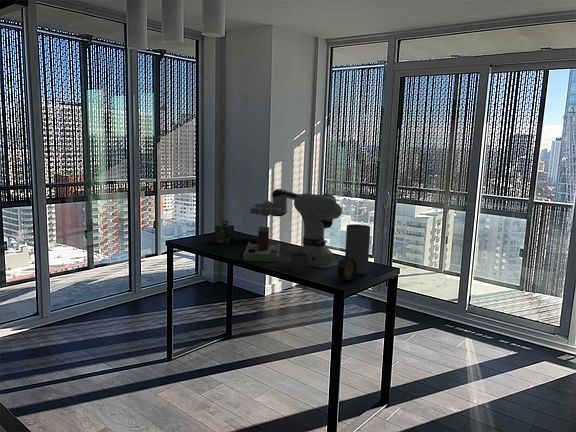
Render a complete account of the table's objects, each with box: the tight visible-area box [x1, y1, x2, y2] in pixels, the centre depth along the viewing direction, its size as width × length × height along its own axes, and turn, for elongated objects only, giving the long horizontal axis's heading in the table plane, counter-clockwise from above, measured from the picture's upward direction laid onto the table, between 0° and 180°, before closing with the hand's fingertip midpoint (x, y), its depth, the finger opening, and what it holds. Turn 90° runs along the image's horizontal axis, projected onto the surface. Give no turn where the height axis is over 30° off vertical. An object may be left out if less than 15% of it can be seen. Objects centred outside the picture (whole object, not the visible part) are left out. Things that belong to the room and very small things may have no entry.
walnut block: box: [257, 226, 270, 251], centre depth 302 cm, size 14×6×12 cm, turn 0°
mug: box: [290, 252, 312, 275], centre depth 256 cm, size 12×9×10 cm
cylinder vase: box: [344, 223, 371, 275], centre depth 261 cm, size 12×12×25 cm
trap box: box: [242, 241, 281, 263], centre depth 294 cm, size 36×20×4 cm, turn 0°
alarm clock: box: [336, 250, 356, 284], centre depth 243 cm, size 11×5×16 cm, turn 138°
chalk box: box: [214, 219, 235, 245], centre depth 320 cm, size 9×9×15 cm
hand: (265, 212), depth 311 cm, fingers open, 4 cm apart
